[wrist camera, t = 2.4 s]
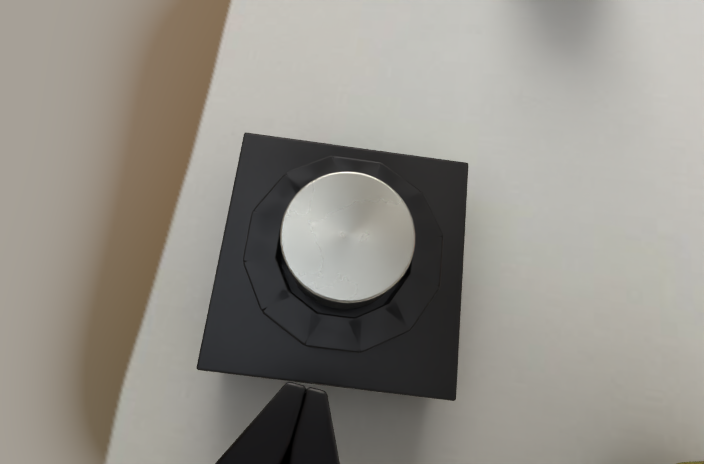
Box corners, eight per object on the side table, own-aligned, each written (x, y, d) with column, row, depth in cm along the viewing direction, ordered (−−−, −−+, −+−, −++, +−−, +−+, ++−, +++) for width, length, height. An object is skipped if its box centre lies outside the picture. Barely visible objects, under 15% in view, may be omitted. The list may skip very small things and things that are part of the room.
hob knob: (396, 316, 16) (410, 311, 13) (277, 301, 16) (269, 293, 13) (407, 203, 17) (420, 179, 14) (296, 188, 17) (290, 162, 14)
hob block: (430, 390, 21) (471, 408, 15) (221, 364, 20) (180, 373, 14) (443, 194, 23) (483, 144, 17) (258, 169, 23) (235, 109, 17)
